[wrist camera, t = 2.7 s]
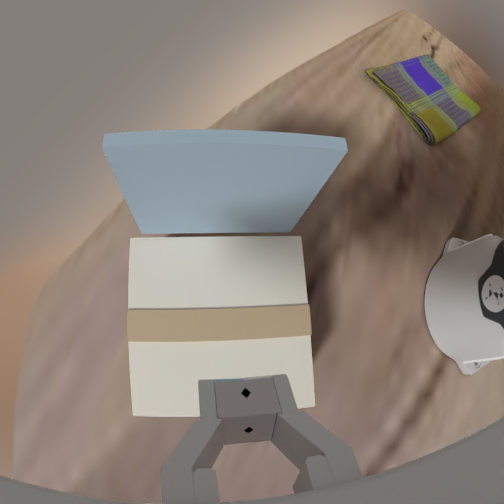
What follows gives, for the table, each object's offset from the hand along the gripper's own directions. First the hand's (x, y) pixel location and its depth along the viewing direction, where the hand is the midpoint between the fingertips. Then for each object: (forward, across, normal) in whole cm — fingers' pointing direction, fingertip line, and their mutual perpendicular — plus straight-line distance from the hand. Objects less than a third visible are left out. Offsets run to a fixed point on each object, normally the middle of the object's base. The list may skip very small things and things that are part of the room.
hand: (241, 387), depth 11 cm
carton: (+17, 0, +13) cm, 22 cm away
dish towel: (+44, -39, -14) cm, 61 cm away
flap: (+17, 0, +2) cm, 17 cm away
